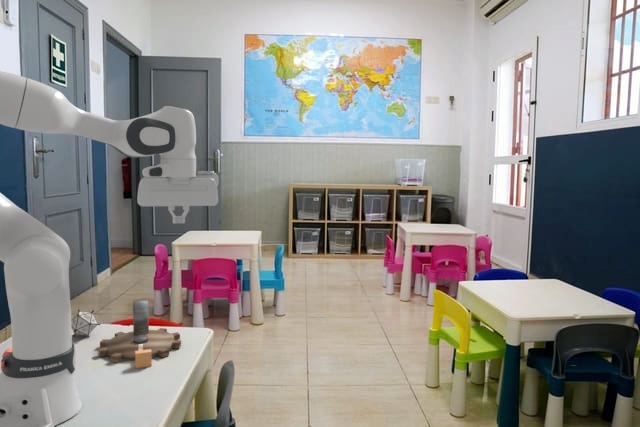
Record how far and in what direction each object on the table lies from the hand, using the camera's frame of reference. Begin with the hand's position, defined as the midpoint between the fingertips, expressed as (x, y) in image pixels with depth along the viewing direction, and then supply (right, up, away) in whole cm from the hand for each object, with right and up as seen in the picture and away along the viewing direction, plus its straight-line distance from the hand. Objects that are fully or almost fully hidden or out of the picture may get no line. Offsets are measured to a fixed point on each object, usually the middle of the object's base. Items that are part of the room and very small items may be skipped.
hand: (178, 223), depth 122 cm
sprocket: (-16, -37, +16) cm, 44 cm away
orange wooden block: (-11, -39, +4) cm, 40 cm away
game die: (-37, -36, +24) cm, 57 cm away
